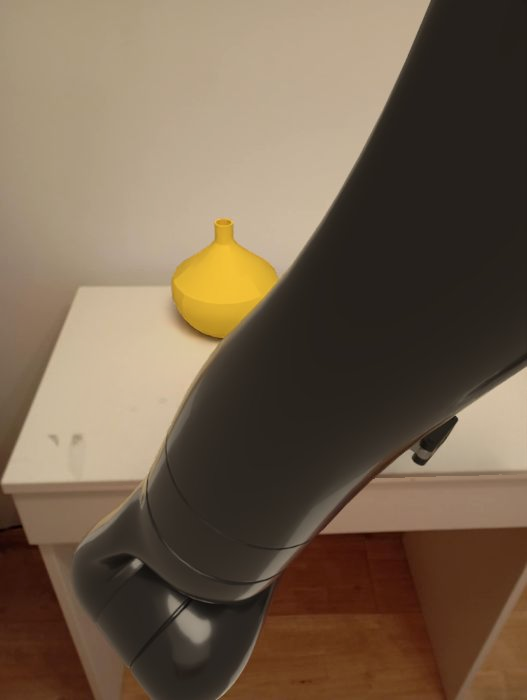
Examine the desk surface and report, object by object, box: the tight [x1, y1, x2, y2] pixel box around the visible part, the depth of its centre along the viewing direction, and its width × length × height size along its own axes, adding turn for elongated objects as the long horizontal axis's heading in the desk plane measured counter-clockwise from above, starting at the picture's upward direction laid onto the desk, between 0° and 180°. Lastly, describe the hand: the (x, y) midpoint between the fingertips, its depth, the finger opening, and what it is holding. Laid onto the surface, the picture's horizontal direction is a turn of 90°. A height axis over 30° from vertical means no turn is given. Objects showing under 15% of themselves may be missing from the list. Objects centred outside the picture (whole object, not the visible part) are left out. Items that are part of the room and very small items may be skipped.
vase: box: [170, 217, 279, 339], centre depth 79 cm, size 18×18×19 cm
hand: (402, 369), depth 49 cm, fingers open, 8 cm apart
